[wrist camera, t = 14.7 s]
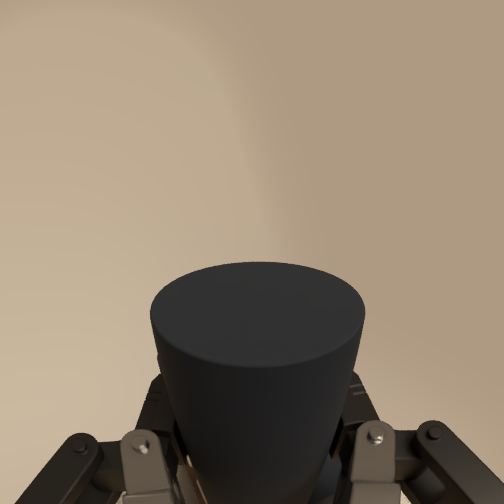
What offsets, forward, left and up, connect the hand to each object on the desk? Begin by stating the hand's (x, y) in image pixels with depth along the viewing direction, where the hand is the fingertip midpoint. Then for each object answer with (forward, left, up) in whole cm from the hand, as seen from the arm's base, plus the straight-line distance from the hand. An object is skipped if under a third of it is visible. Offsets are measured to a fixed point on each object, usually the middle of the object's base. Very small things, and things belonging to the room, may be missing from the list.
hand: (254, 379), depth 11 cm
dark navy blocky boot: (-2, +2, -8) cm, 9 cm away
